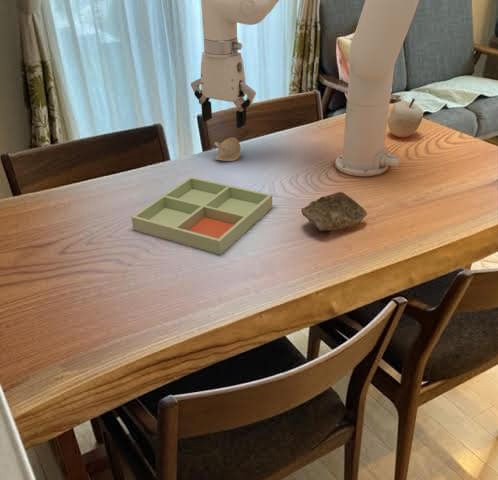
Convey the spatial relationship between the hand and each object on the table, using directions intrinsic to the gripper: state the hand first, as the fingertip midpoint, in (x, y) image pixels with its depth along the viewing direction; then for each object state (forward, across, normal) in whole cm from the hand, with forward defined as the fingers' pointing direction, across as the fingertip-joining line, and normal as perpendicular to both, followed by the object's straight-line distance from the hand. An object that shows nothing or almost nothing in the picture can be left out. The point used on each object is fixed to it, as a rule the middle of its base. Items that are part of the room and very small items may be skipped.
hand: (224, 123), depth 132 cm
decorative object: (+8, -36, -33) cm, 49 cm away
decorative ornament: (+9, -1, 0) cm, 9 cm away
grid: (+9, -13, +29) cm, 33 cm away
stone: (+9, -38, +20) cm, 43 cm away
